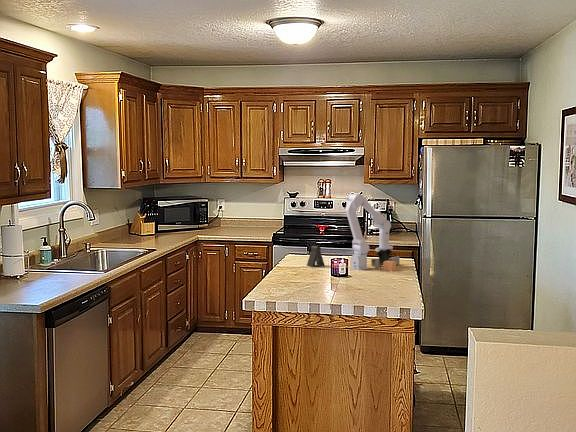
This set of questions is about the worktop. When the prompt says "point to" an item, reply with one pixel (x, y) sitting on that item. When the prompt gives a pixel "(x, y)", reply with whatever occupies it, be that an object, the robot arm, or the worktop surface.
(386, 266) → the terracotta rectangular block
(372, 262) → the gate door
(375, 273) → the worktop surface
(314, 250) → the phone stand
